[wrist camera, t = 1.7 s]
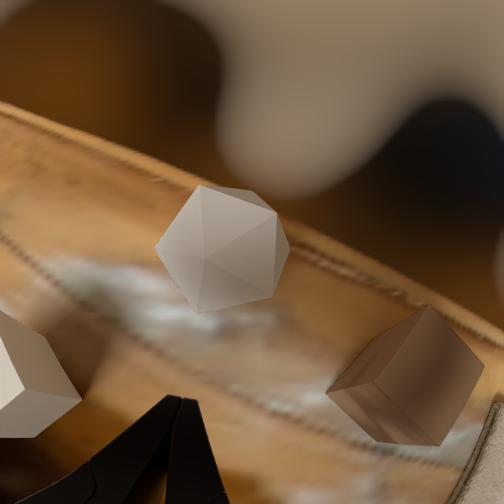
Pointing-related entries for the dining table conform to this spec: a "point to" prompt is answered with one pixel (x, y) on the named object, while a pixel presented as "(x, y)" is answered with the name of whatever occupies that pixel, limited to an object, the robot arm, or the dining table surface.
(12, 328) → the pale grey block
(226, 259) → the die
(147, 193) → the dining table surface
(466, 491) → the washcloth
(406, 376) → the walnut block
